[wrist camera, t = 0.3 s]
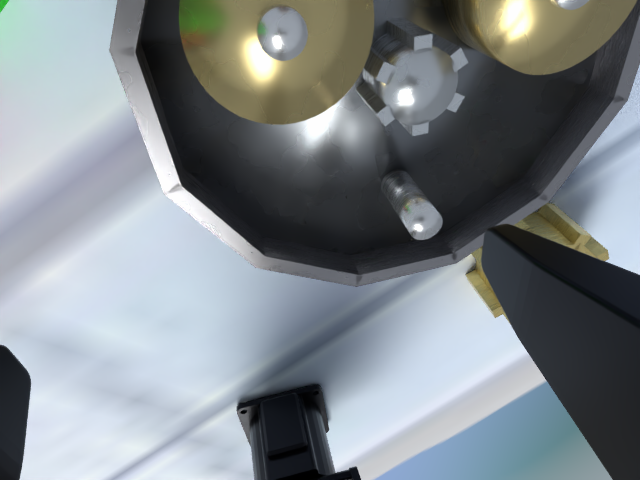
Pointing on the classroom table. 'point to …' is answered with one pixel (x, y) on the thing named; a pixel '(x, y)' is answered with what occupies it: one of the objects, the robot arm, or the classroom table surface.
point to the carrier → (369, 119)
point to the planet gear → (549, 226)
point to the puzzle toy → (3, 4)
